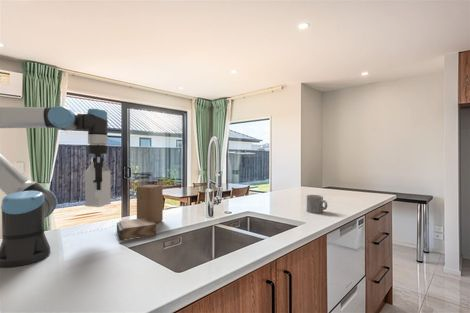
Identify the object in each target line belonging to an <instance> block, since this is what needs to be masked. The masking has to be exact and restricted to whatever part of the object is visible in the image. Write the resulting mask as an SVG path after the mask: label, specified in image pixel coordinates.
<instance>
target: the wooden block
mask: <svg viewBox="0 0 470 313" xmlns="http://www.w3.org/2000/svg"><path fill="white" fill-rule="evenodd" d="M163 200H164V198H163V185H161V184H144V185H138V186H137V187H136V219H141V218H149V217H150V218H151V219H152V221H153V222H154V223H155V224H158V223H161V222H163V215H164V214H163V212H164V211H163V203H164V202H163Z"/></svg>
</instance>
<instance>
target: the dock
mask: <svg viewBox="0 0 470 313" xmlns="http://www.w3.org/2000/svg"><path fill="white" fill-rule="evenodd" d="M116 233H118V234H117V236H118V238H119V241H120V240H121V241H126V240H125V239H127V240H132V239H131V238H133V239H138V238H137V237H140V238H145V237H151V236H156V235H157V223H154V222H153V221H152V219H151V218H150V217H149V218H141V219H137V218H135V219H134V218H133V219H125V220H119V222H118V221H117V222H116Z"/></svg>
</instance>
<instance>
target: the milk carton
mask: <svg viewBox="0 0 470 313" xmlns="http://www.w3.org/2000/svg"><path fill="white" fill-rule="evenodd" d="M111 176H112V174H111V169H110V167H108V166H107V165H106V162H105V161H103V167H102V179H103V180H102V197H101V198H95V182H93V180H95V168H94V163H93V161H90V165H89V166H88V167H87V169H86V170H84V206H85V207H94V208H95V207H97V208H100V207H103V206H107V205H111V204H112V203H111V202H112V200H111V198H112V197H111V195H112V193H111V188H112V187H111V186H112V181H111Z"/></svg>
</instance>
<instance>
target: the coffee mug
mask: <svg viewBox="0 0 470 313" xmlns="http://www.w3.org/2000/svg"><path fill="white" fill-rule="evenodd" d="M327 208H328V201H326V199H325V200H324V196H323V195H320V194H308V195H306V212H307V213H309V214H323V213H324V211H325V210H327Z"/></svg>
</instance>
